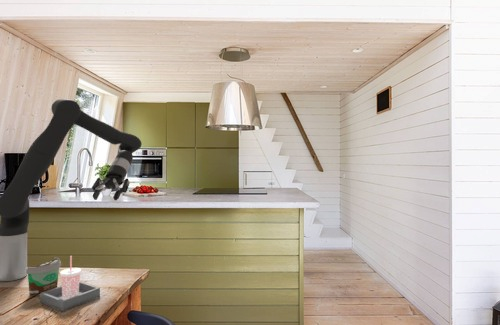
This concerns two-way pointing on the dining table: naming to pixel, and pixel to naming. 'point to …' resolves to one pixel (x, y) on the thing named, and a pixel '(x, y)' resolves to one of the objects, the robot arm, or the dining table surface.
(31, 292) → the food container
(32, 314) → the dining table surface
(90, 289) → the tray
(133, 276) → the dining table surface
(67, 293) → the beverage cup
